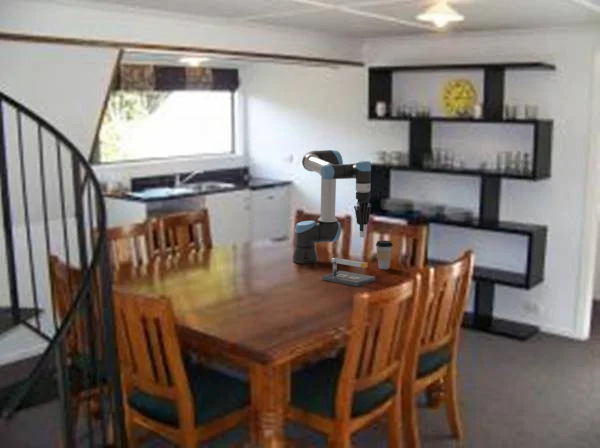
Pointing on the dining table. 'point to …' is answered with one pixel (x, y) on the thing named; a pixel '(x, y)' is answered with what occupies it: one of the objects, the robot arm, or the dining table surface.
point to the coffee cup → (384, 254)
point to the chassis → (348, 277)
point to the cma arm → (349, 262)
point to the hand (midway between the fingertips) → (362, 236)
